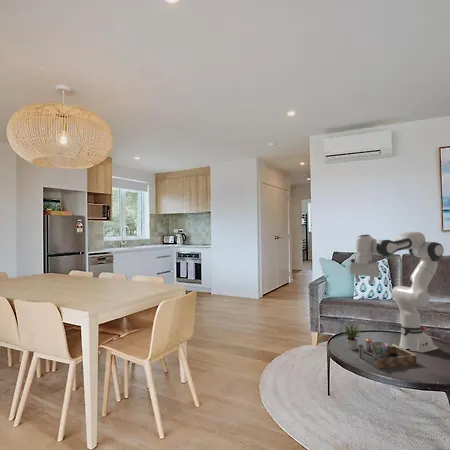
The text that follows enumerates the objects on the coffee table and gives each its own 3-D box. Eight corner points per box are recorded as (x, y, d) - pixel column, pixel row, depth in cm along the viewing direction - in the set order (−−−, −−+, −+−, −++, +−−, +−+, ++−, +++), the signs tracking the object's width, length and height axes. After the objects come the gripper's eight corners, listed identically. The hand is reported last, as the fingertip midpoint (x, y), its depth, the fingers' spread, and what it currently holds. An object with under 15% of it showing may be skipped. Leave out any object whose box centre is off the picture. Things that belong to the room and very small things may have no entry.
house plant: (368, 347, 218) (367, 322, 219) (363, 353, 207) (362, 327, 207) (345, 343, 226) (345, 319, 227) (340, 349, 215) (339, 324, 215)
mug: (390, 366, 187) (389, 347, 187) (372, 364, 190) (372, 346, 190) (386, 358, 199) (386, 340, 199) (370, 357, 201) (369, 339, 202)
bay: (394, 353, 207) (393, 344, 207) (416, 364, 188) (416, 354, 189) (358, 357, 202) (358, 347, 202) (378, 369, 184) (377, 359, 184)
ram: (361, 355, 203) (361, 334, 203) (382, 368, 184) (381, 344, 184) (357, 356, 202) (356, 334, 202) (377, 368, 183) (376, 345, 184)
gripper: (381, 261, 200) (382, 284, 199) (355, 259, 218) (355, 280, 218) (374, 261, 197) (374, 285, 197) (348, 259, 216) (348, 281, 215)
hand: (364, 282), depth 207 cm, fingers open, 8 cm apart
